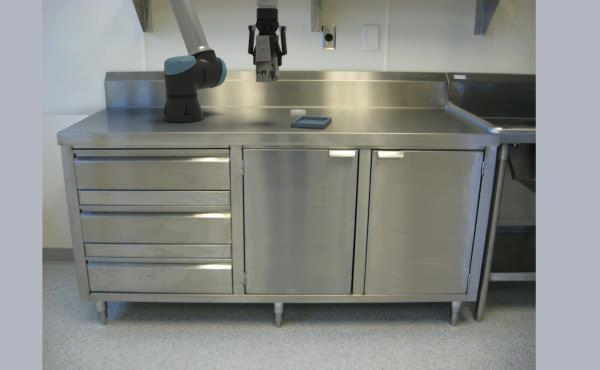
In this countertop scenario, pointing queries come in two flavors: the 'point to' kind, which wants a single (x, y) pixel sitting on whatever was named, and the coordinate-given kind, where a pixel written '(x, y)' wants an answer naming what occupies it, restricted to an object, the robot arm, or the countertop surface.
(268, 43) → the coffee box
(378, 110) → the countertop surface
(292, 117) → the white small block
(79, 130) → the countertop surface
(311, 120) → the tray
